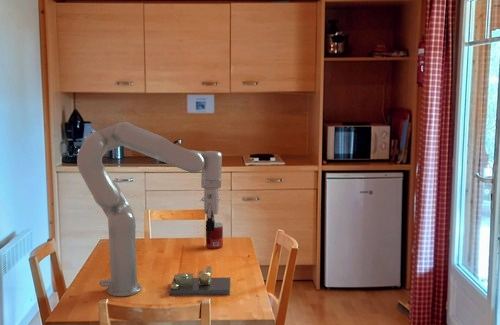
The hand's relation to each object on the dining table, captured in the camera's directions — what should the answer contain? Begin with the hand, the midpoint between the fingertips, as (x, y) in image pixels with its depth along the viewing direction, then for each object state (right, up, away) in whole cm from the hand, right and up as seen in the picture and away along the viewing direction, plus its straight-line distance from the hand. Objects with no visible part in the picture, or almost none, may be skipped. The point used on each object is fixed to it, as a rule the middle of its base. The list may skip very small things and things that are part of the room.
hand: (210, 230), depth 218 cm
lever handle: (-1, -19, -1) cm, 19 cm away
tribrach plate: (-3, -21, -4) cm, 22 cm away
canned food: (-1, -14, +49) cm, 51 cm away
